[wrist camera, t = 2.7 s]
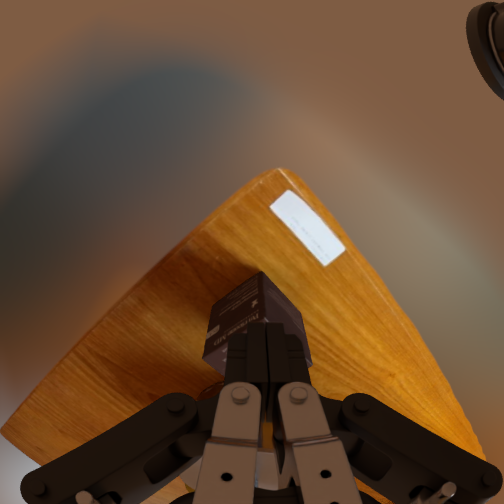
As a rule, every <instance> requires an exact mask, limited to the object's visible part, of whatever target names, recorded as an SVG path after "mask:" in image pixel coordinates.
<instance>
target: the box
mask: <svg viewBox="0 0 504 504" xmlns="http://www.w3.org/2000/svg"><path fill="white" fill-rule="evenodd" d="M247 322H264V324H265V322H283V325H284V331H285V334H296V335H297V336H298V337H299V339H300V340H301V341H302V344H303V349H304V353H305V359H306V362H307V367H308V368H309V367H311V366H312V365H313V363H312V359H311V354H310V350H309V346H308V342H307V338H306V333H305V329H304V324H303V320H302V316H301V313H300V311H299V310H298V309H297V308H296V307H295V306H294V305H293V304H292V303H291V302H290V301H289V300H288V298H287V297H286V296H285V295H284V294H283V293H282V292H281V291H280V290H279V289H278V288H277V286H276V285H275V284H274V283H273V282H272V281H271V280H270V279H269V278H268V277H267V276H266V275H265V273H264V272H263V271H261V272H259V273H257V274H255V275H254V276H253V277H251V278H250V279H248V280H247V281H246V282H244V283H243V284H241V285H240V286H238V287H237V288H236V289H234V290H233V291H232V292H230V293H229V294H227V295H226V296H225V297H223V298H222V299H221V300H220V301H218V302H217V303H215V304H214V305H213V306H212V310H211V315H210V320H209V325H208V330H207V335H206V341H205V346H204V353H203V357H202V359H203V360H204V361H205V362H207V363H208V364H209V365H210V366H212V367H213V368H214V369H215V370H217V371H218V372H219V373H220V374H222V375H223V376H224V377H225V369H226V359H227V348H228V340H229V339H230V338H231V336H232V335H233V334H234V333H247Z"/></svg>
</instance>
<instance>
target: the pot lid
mask: <svg viewBox="0 0 504 504" xmlns="http://www.w3.org/2000/svg"><path fill="white" fill-rule="evenodd" d="M202 457H203V456H202ZM202 457H201V458H200V459H199V460H198V461H197V462H196V463H194V464H193V465H192V466H191V467H189V468H188V469H187V470H185V471H184V472H183V473H181V474H180V477H181V479H182V480H183V482H184V483H185V484H187V485H188V486H189V487H191V488H192V489H194V490H195V489H196V484H197V480H198V475H199V470H200V466H201V461H202ZM254 487H258V488H263V489H268V490H278V476H277V469H276V463H275V457H274V451H273V449H266V448H258V450H257V462H256V474H255V486H254Z"/></svg>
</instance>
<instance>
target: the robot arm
mask: <svg viewBox="0 0 504 504" xmlns="http://www.w3.org/2000/svg"><path fill="white" fill-rule="evenodd" d="M491 8H492V14H491V15H490V16H489V17H488V20H487V24H486V33H487V40H488V44H489V47H490V50H491V53H492V56H493V58H494V60H495V62H496V65H497V66H498V68H499V70H500V72H501V73H502V75H503V76H504V2H503V3H500V4H497V5H494V6H491ZM265 412H266V423H272V425H273V433H272V444H273V451H274V457H275V463H276V469H277V476H278V490H268V489H263V488H258V487H254V486H255V474H256V462H257V450H258V438H259V435H260V428H261V423H264V420H265ZM202 456H203V457H202ZM201 457H202V461H201V466H200V470H199V475H198V480H197V484H196V489H195V491H193V492H190V493H187V494H185V495H183V496H180V497H179V498H177V499H175V500H174V501H172V502H171V503H169V504H381V503H380V502H378V501H377V500H375V499H374V498H373V497H371V496H370V495H368V494H366V493H364V492H362V491H360V490H358V488H357V485H356V482H355V479H354V476H355V477H356V478H357V479H359V480H360V481H362V482H363V483H365V484H366V485H368V486H369V487H371V488H372V489H374V490H375V491H377V492H378V493H380V494H381V495H383V496H384V497H386V498H387V499H389V500H390V501H392V502H394V503H395V504H485V503H486V502H487V501H489V500H490V499H491V498H492V497H493V496H495V495H496V494H497V493H498V492H499V491H500V489H501V487H502V482H503V478H502V474H501V472H500V471H499V469H497V467H495V466H494V465H492V464H490V463H488V462H486V461H484V460H482V459H480V458H478V457H476V456H474V455H472V454H471V453H469V452H467V451H465V450H463V449H461V448H459V447H458V446H456V445H454V444H452V443H450V442H448V441H447V440H445V439H443V438H441V437H439V436H438V435H436V434H434V433H432V432H431V431H429V430H427V429H425V428H424V427H422V426H420V425H419V424H417V423H415V422H413V421H412V420H410V419H408V418H407V417H405V416H403V415H402V414H400V413H398V412H397V411H395V410H393V409H392V408H390V407H388V406H387V405H385V404H383V403H382V402H380V401H379V400H377V399H375V398H374V397H372V396H370V395H368V394H364V393H354V394H351V395H349V396H347V397H346V398H345V399H344V400H343V401H340V400H334V399H329V398H326V397H323V396H321V395H320V394H318V392H317V391H316V389H315V388H314V387H312V385H311V381H310V376H309V371H308V367H307V362H306V359H305V353H304V349H303V344H302V341H301V340H300V339H299V337H298V336H297V335H296V334H285V331H284V325H283V322H265V324H264V322H247V333H234V334H233V335H232V336H231V338H230V339H229V340H228V348H227V359H226V369H225V380H224V386H223V389H222V390H221V391H220V392H219V393H218V394H217V395H215V396H214V397H211V398H209V399H204V400H199V401H195V400H194V399H193V398H192V397H191V396H189V395H187V394H184V393H170V394H166V395H164V396H162V397H161V398H159V399H158V400H156V401H155V402H153V403H151V404H150V405H148V406H147V407H145V408H144V409H142V410H140V411H139V412H137V413H136V414H134V415H132V416H131V417H129V418H127V419H126V420H124V421H122V422H121V423H119V424H117V425H116V426H114V427H112V428H111V429H109V430H107V431H106V432H104V433H102V434H100V435H99V436H97V437H95V438H93V439H92V440H90V441H88V442H86V443H85V444H83V445H81V446H79V447H77V448H76V449H74V450H72V451H70V452H68V453H66V454H65V455H63V456H61V457H59V458H57V459H55V460H53V461H51V462H49V463H47V464H45V465H43V466H41V467H40V468H38V469H36V470H34V471H31V472H30V473H28V474H27V475H25V476H24V478H23V479H22V481H21V485H20V491H21V494H22V497H23V499H24V500H25V502H27V503H28V504H140V503H141V502H143V501H144V500H146V499H147V498H148V497H150V496H151V495H153V494H154V493H156V492H157V491H158V490H160V489H161V488H163V487H164V486H165V485H167V484H168V483H169V482H171V481H172V480H174V479H175V478H176V477H178V476H179V475H180V474H181V473H183V472H184V471H185V470H187V469H188V468H189V467H191V466H192V465H193V464H194V463H196V462H197V461H198V460H199V459H200V458H201Z"/></svg>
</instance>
